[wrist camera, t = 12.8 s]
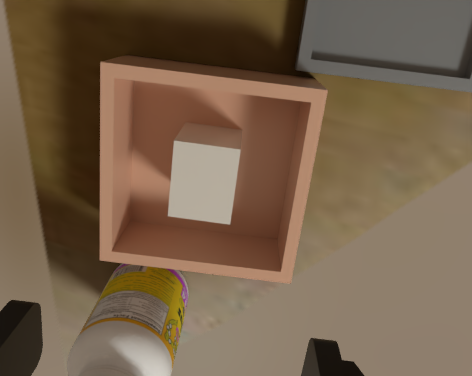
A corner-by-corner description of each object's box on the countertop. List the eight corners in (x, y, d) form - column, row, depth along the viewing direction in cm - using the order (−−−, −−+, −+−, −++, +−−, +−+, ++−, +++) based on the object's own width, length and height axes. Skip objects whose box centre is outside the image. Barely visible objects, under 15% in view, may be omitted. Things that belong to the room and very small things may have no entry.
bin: (126, 54, 30) (100, 61, 25) (314, 78, 30) (327, 90, 25) (122, 224, 34) (99, 260, 29) (285, 244, 34) (290, 283, 29)
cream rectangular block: (186, 122, 30) (174, 140, 26) (242, 129, 30) (240, 149, 26) (180, 188, 32) (167, 216, 28) (233, 195, 32) (230, 224, 28)
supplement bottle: (168, 331, 38) (130, 473, 26) (99, 298, 37) (25, 431, 25) (204, 274, 36) (179, 401, 24) (131, 238, 35) (67, 352, 23)
